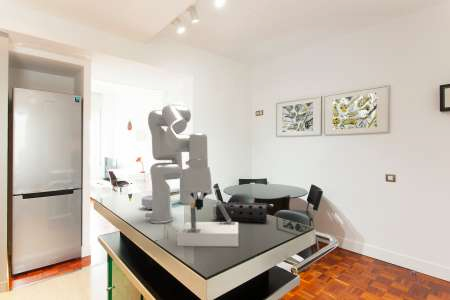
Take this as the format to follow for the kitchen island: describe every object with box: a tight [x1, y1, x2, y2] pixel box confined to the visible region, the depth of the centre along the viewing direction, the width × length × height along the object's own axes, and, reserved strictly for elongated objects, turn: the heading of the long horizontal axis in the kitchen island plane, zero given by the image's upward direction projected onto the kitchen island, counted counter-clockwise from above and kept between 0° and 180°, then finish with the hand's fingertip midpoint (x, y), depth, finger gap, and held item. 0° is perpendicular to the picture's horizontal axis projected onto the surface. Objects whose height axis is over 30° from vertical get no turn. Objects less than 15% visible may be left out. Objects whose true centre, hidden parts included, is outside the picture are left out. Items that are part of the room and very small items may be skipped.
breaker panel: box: [176, 221, 239, 247], centre depth 104 cm, size 24×16×5 cm
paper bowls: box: [141, 194, 152, 210], centre depth 164 cm, size 15×15×8 cm
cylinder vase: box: [179, 168, 195, 205], centre depth 181 cm, size 12×12×25 cm
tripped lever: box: [189, 202, 197, 231], centre depth 99 cm, size 2×4×11 cm, turn 177°
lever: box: [216, 199, 232, 224], centre depth 109 cm, size 2×4×11 cm
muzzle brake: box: [212, 200, 268, 223], centre depth 131 cm, size 10×28×10 cm, turn 78°
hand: (199, 209), depth 99 cm, fingers closed
